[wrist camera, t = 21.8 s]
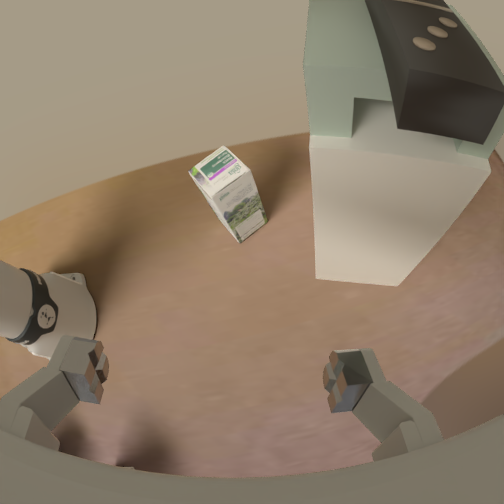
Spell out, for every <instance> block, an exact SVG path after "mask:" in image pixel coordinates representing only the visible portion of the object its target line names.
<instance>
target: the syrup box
mask: <svg viewBox="0 0 504 504" xmlns="http://www.w3.org/2000/svg"><path fill="white" fill-rule="evenodd" d="M188 172H189V174H190V175H191V177H192V179H193V180H194V182H195V183H196V185H197V186H198V188H199V189H200V191H201V192H202V194H203V195H204V197H205V198H206V200H207V202H208V203H209V205H210V206H211V208H212V209H213V211H214V212H215V214H216V215H217V217H218V218H219V220H220V221H221V222H222V223H223V225H224V226H225V227H226V228H227V229H228V231H229V232H230V233H231V234H232V235H233V236H234V238H235V239H236V240H237V241H238V242H239V243H241V242H243V241H244V240H245V239H246V238H248V237H249V236H250V235H251V234H253V233H254V232H255V231H257V230H258V229H259V228H260V227H262V226H263V225H264V224H266V223H267V222H268V220H267V217H266V214H265V211H264V208H263V205H262V202H261V199H260V196H259V193H258V190H257V187H256V184H255V181H254V178H253V175H252V172H251V170H250V169H249V168H248V167H247V166H246V165H245V164H244V163H243V162H242V161H241V160H240V159H238V158H237V157H236V156H235V155H234V154H233V153H232V152H231V151H230V150H229V149H228V148H227V147H226V146H224V145H223V146H222V147H220V148H219V149H217V150H216V151H215V152H213V153H212V154H210V155H209V156H208V157H206V158H205V159H204V160H202V161H201V162H199V163H198V164H197V165H195V166H194V167H193V168H191V169H190V170H189V171H188Z"/></svg>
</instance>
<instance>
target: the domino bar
mask: <svg viewBox="0 0 504 504" xmlns="http://www.w3.org/2000/svg"><path fill="white" fill-rule="evenodd" d="M365 3H366V6H367V8H368V11H369V14H370V17H371V20H372V23H373V27H374V30H375V33H376V37H377V40H378V43H379V47H380V51H381V54H382V58H383V62H384V66H385V70H386V74H387V78H388V83H389V87H390V92H391V97H392V102H393V107H394V113H395V118H396V124H397V129H402V130H409V131H416V132H422V133H428V134H434V135H439V136H445V137H450V138H455V139H459V140H464V141H469V142H473V143H477V144H481V145H483V144H484V143H485V141H486V139H487V137H488V135H489V133H490V132H491V130H492V128H493V126H494V124H495V122H496V120H497V118H498V116H499V114H500V112H501V110H502V108H503V106H504V85H503V83H502V81H501V80H500V78H499V76H498V75H497V73H496V71H495V70H494V68H493V66H492V65H491V63H490V62H489V60H488V59H487V57H486V56H485V54H484V53H483V51H482V50H481V48H480V47H479V45H478V44H477V42H476V41H475V40H474V38H473V37H472V35H471V34H470V33H469V31H468V30H467V29H466V27H465V26H464V25H463V24H462V22H461V21H460V20H459V18H458V17H457V16H456V15H455V14H454V12H453V11H452V10H451V9H450V8H449V6H448V5H447V4H446V3H445V2H444V1H443V0H365Z"/></svg>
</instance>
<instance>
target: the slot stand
mask: <svg viewBox="0 0 504 504" xmlns="http://www.w3.org/2000/svg"><path fill="white" fill-rule="evenodd" d="M447 5H448V4H447ZM448 6H449V8H450V9H451V10H452V11H453V12H454V14H455V15H456V16H457V17H458V18H459V20H460V21H461V22H462V24H463V25H464V26H465V27H466V29H467V30H468V31H469V33H470V34H471V35H472V37H473V38H474V40H475V41H476V42H477V44H478V45H479V47H480V48H481V50H482V51H483V53H484V54H485V56H486V57H487V59H488V60H489V62H490V63H491V65H492V66H493V68H494V70H495V71H496V73H497V75H498V76H499V78H500V80H501V81H502V83H503V85H504V75H503V74H502V72H501V70H500V69H499V67H498V66H497V64H496V63H495V61H494V60H493V58H492V57H491V55H490V54H489V52H488V51H487V49H486V48H485V46H484V45H483V44H482V42H481V41H480V39H479V38H478V37H477V35H476V34H475V33H474V32H473V30H472V29H471V28H470V27H469V25H468V24H467V23H466V21H465V20H464V19H463V18H462V17H461V16H460V14H459V13H458V12H457V11H456V9H455V8H454V7H453V6H451V5H448ZM303 70H304V78H305V86H306V96H307V106H308V116H309V127H310V143H309V152H310V165H311V179H312V195H313V213H314V235H315V267H316V279H324V280H334V281H345V282H356V283H366V284H377V285H389V286H398V285H399V284H400V283H401V282H402V281H403V280H404V279H405V278H406V277H407V276H408V275H409V273H410V272H411V271H412V270H413V269H414V268H415V267H416V266H417V265H418V264H419V263H420V261H421V260H422V259H423V258H424V257H425V256H426V255H427V254H428V252H429V251H430V250H431V249H432V248H433V247H434V246H435V244H436V243H437V242H438V241H439V240H440V239H441V237H442V236H443V235H444V234H445V233H446V231H447V230H448V229H449V228H450V226H451V225H452V224H453V223H454V221H455V220H456V219H457V218H458V216H459V215H460V214H461V213H462V211H463V210H464V209H465V207H466V206H467V205H468V204H469V202H470V201H471V200H472V198H473V197H474V196H475V194H476V193H477V191H478V190H479V189H480V187H481V186H482V185H483V183H484V182H485V180H486V179H487V177H488V176H489V175H490V173H491V168H490V165H489V161H488V158H489V157H490V155H491V153H492V152H493V150H494V148H495V147H496V145H497V143H498V142H499V140H500V138H501V136H502V135H503V133H504V106H503V108H502V110H501V112H500V114H499V116H498V118H497V120H496V122H495V124H494V126H493V128H492V130H491V132H490V133H489V135H488V137H487V139H486V141H485V143H484V144H483V145H481V144H477V143H473V142H469V141H464V140H459V139H455V138H450V137H445V136H439V135H434V134H428V133H422V132H416V131H409V130H402V129H397V124H396V118H395V113H394V107H393V102H392V97H391V92H390V87H389V83H388V78H387V74H386V70H385V66H384V62H383V58H382V54H381V51H380V47H379V43H378V40H377V37H376V33H375V30H374V27H373V23H372V20H371V17H370V14H369V11H368V8H367V6H366V3H365V0H309V10H308V20H307V31H306V41H305V51H304V60H303Z"/></svg>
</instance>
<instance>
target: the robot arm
mask: <svg viewBox="0 0 504 504" xmlns="http://www.w3.org/2000/svg"><path fill="white" fill-rule="evenodd" d="M95 329H96V308H95V304H94V301H93V298H92V296H91V295H90V293H89V291H88V290H87V287H86V281H85V277H84V275H83V274H81V273H68V274H57V273H55V272H50V273H43V274H39V275H38V274H36V273H35V272H33V271H31V270H26V269H24V268H20V269H18V268H16V267H14V266H12V265H10V264H8V263H5V262H3V261H1V260H0V336H2V337H5V338H6V339H7V340H9V341H12V342H14V343H17V344H21V345H22V346H24V347H26V348H28V351H29V352H31V353H32V354H34V355H36V356H40V357H45V358H48V359H49V360H50V361H49V364H48V366H47V368H46V367H43V368H41V369H40V370H39V371H37V372H36V373H34V374H33V375H32V376H30V377H29V378H28V379H26V380H25V381H23V382H22V383H21V384H19V385H18V386H16V387H15V388H14V389H12V390H11V391H10V392H8V393H7V394H6V395H4V396H3V397H2V398H1V401H0V504H504V414H503V415H500V416H498V417H496V418H494V419H492V420H490V421H488V422H486V423H483V424H481V425H479V426H477V427H475V428H472V429H470V430H468V431H466V432H463V433H461V434H458V435H456V436H454V437H451V438H449V439H446V440H444V439H443V437H442V434H441V432H440V429H439V427H438V425H437V423H436V420H435V418H434V416H433V414H432V413H431V412H430V411H429V410H427V409H426V408H425V407H423V406H422V405H421V404H419V403H418V402H417V401H415V400H414V399H413V398H411V397H410V396H409V395H408V394H406V393H405V392H404V391H402V390H401V389H400V388H398V387H397V386H396V385H394V384H393V383H392V382H391V381H386V379H385V377H384V374H383V372H382V370H381V367H380V365H379V363H378V361H377V358H376V356H375V354H374V352H373V350H372V349H371V348H366V349H350V350H336V351H332V352H331V354H330V356H329V359H330V362H329V363H328V364H326V366H325V368H324V371H323V384H324V388H325V389H326V390H327V391H328V392H329V393H330V394H329V396H328V398H327V399H328V403H329V407H330V410H331V413H337V412H347V411H352V413H353V414H354V415H355V416H356V417H357V418H358V419H359V420H360V421H361V422H362V423H363V424H364V425H365V426H366V427H367V428H368V429H369V430H370V431H371V432H372V434H373V435H374V436H375V437H376V438H377V439H378V440H379V441H380V442H381V444H380V445H379V446H378V447H377V448H376V449H375V450H374V451H373V452H372V457H373V460H374V462H370V463H365V464H361V465H356V466H351V467H346V468H340V469H334V470H328V471H322V472H314V473H306V474H297V475H287V476H273V477H252V478H217V477H195V476H182V475H171V474H162V473H155V472H147V471H141V470H135V469H129V468H123V467H118V466H113V465H109V464H104V463H100V462H95V461H91V460H87V459H84V458H80V457H76V456H73V455H69V454H66V453H63V452H59V451H58V450H59V446H60V442H59V440H58V439H57V438H56V437H55V436H54V435H53V433H52V432H51V431H52V430H53V428H54V427H55V426H56V425H57V424H58V423H59V422H60V421H61V420H62V419H63V418H64V417H65V416H66V415H67V414H68V413H69V412H70V411H71V410H72V409H73V408H74V407H75V406H76V405H77V404H78V403H79V401H84V402H89V403H95V404H100V401H101V398H102V394H103V391H104V389H103V387H102V385H101V384H102V383H104V382H105V381H106V380H107V377H108V372H109V363H108V359H107V356H106V355H105V354H104V353H103V352H102V351H103V348H104V347H103V345H102V342H101V341H96V340H92V339H93V337H94V333H95Z"/></svg>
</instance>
